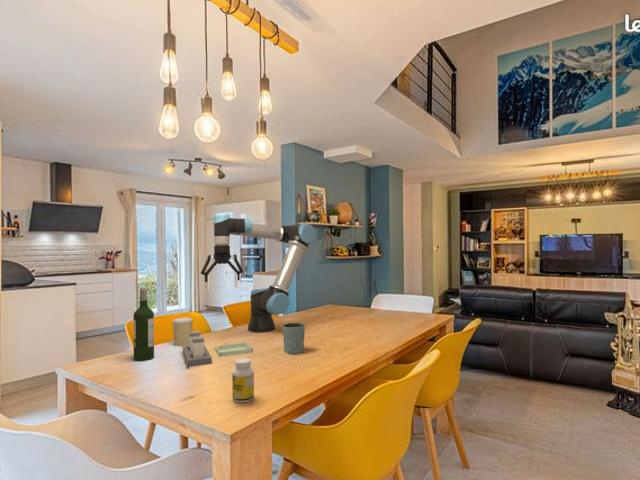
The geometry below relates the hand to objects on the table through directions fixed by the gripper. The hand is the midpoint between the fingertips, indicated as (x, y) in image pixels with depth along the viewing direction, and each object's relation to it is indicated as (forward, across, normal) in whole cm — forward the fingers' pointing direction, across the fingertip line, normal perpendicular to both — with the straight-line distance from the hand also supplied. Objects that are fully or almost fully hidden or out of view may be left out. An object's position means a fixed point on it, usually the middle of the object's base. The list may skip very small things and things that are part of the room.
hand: (222, 288), depth 183 cm
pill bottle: (+27, +7, +73) cm, 78 cm away
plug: (+27, +15, +28) cm, 41 cm away
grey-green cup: (+27, -25, +32) cm, 49 cm away
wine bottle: (+27, +35, +11) cm, 45 cm away
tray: (+27, -1, +20) cm, 33 cm away
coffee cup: (+27, +18, -7) cm, 33 cm away
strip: (+27, +15, +22) cm, 38 cm away
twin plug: (+27, +15, +16) cm, 35 cm away
